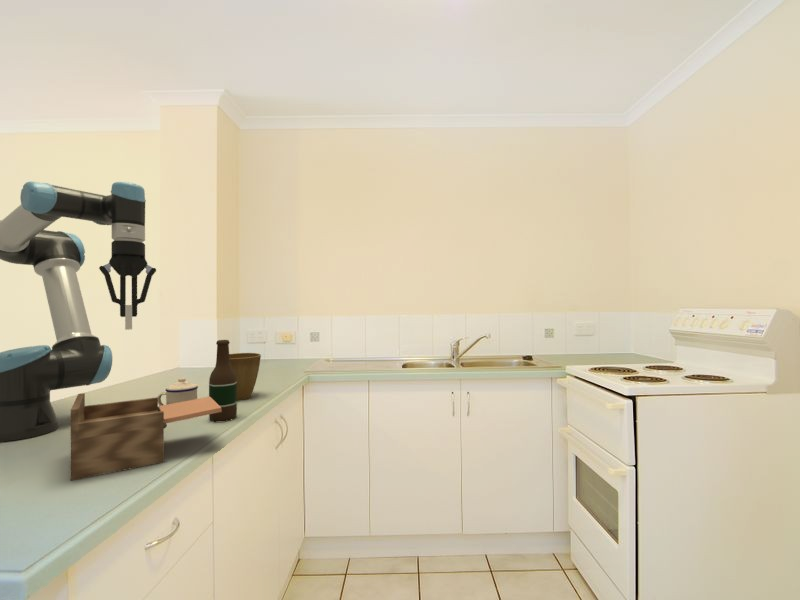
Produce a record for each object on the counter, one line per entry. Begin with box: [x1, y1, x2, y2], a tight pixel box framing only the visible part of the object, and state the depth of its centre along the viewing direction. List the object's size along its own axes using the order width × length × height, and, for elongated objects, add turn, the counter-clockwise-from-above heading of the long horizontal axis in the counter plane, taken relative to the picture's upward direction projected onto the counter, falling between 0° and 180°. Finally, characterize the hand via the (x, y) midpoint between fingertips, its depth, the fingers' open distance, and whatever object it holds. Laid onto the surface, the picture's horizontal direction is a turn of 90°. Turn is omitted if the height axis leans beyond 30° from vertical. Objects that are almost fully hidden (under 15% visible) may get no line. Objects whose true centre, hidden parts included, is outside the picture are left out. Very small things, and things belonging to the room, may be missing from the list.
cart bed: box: [70, 392, 168, 481], centre depth 92 cm, size 17×18×14 cm
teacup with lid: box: [156, 377, 199, 407], centre depth 128 cm, size 12×9×12 cm
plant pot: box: [229, 352, 262, 401], centre depth 151 cm, size 15×15×16 cm
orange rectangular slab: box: [158, 396, 222, 424], centre depth 100 cm, size 2×15×12 cm
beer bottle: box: [208, 339, 238, 423], centre depth 123 cm, size 8×8×24 cm
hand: (128, 329), depth 108 cm, fingers closed
